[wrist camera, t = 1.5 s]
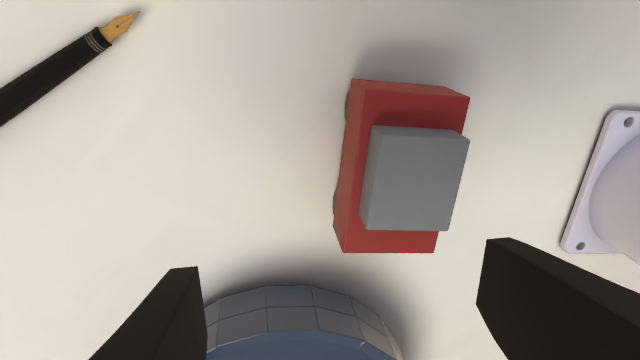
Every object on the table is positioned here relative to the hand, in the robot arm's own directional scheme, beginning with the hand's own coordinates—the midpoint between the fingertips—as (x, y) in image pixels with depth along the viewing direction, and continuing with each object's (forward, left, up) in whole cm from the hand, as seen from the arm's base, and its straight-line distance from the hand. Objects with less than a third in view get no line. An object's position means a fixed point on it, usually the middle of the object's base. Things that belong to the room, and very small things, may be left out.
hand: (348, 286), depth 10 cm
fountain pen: (+12, -1, -10) cm, 16 cm away
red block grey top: (-4, 0, -10) cm, 10 cm away
